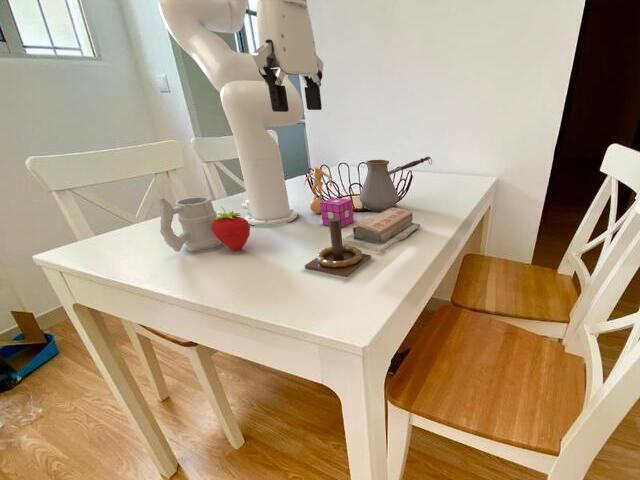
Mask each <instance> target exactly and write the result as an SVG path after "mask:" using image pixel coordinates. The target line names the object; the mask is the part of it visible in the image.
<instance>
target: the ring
mask: <svg viewBox="0 0 640 480" xmlns="http://www.w3.org/2000/svg"><path fill="white" fill-rule="evenodd" d="M344 251H346V252H351V253H354V254H355V255H356V256H354V257H353V258H351V259H347V260H344V261H331V260H326V259H325V258H324V256H326V255H328V254H330V253H332V246H329V247H325V248H324V249H322V250H320V251H319V252H318V253H317V256H316V258H317V261H318V262H319V263H320V264H322V265H323V266H327V267H332V268H337V267H347V266H350V265H353V264H356V263H357V262H358V261H360V260H361V259H362V253H363V252H362V250H361V249H359V248H358V247H356V246H351V245H347V244H344V245H343V252H344Z"/></svg>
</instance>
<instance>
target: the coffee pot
mask: <svg viewBox="0 0 640 480" xmlns="http://www.w3.org/2000/svg"><path fill="white" fill-rule="evenodd" d="M427 161H428V164H429V165H433V160H432V157H431V156H425V157H421V158H420V159H417V160H413V161H410V162H408V163H406V164H404V165H402V166H400V167H397V168H394V169H391V170H389V171H388V165H389V164H390V161H389V160H388V159H387V160H386V159H369V160H366V161H365V164H367V167H368V171H367V173H366V176H365V180H364V182H363V185H362V188H361V191H360V194H359V197H358V199H359V201H360V203H361V204H362V206H363V207H365V208H366V209H367V210H368V211H374V212H383V211H385V210H387V209H390V208H394V206H396V205H397V203H398V202H399V200H400V199H399V198H400V197H399V194H398V191H397V189H396V187H395V185H394V182H393V179H392V177H391V175H393V174H395V173H398V172H400V171H403V170H407V169H410V168H413V167H416V166H418V165H419V164H423V163H424V162H427ZM430 161H431V162H430Z"/></svg>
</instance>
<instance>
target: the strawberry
mask: <svg viewBox="0 0 640 480" xmlns="http://www.w3.org/2000/svg"><path fill="white" fill-rule="evenodd" d="M220 207H221V208H222V210H223V211H224V213H223V212H221V213H220V212H219V213H217V215H218V216H217V217H216V218H214V219H212V220H214V221H213V223H212V231H213V233H214V234H215V236H216V237H217V239H219V240H220V241H221V242H222V244H223V245H224V246H226V247H227V248H229V249H230V250H232V251H233V252H239V251H240V252H241V251H242V250H243V248H244V246H245V245H246V243H247V241H248V239H249V237H250V235H251V224H249V223H248V221H247V220H246V218H244V217H241V212H234V210H233V211H229V212H226V210H225V208H224V207H223V206H222V205H221V206H220Z"/></svg>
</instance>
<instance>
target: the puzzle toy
mask: <svg viewBox="0 0 640 480" xmlns="http://www.w3.org/2000/svg"><path fill="white" fill-rule="evenodd" d="M322 201H323V202H321V203H320V206H321V213H320V214H321V221H322V222H321V223H322V225H323V226H328V227H330V226H329V219H331V218H339V219H340V224H341V229H342V228H344V227H346V226H348V225H350V224H351V223H354V221H355V219H354V208H353V207H354V206H353V199H348V198H341V197H335V196H334V197H331V198H328V199H326V200H322Z"/></svg>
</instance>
